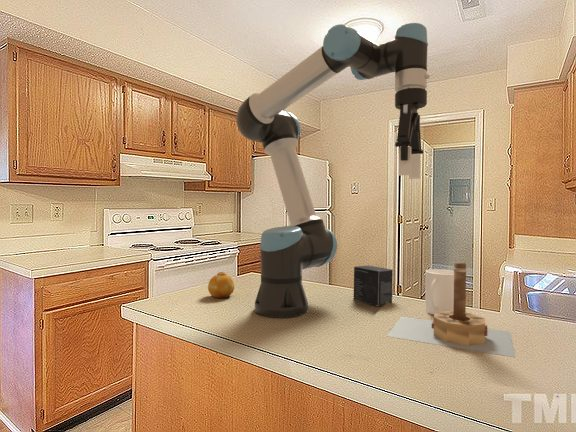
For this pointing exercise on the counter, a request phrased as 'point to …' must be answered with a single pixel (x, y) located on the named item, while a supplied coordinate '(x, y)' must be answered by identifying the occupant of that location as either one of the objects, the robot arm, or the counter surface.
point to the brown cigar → (459, 291)
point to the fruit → (221, 285)
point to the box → (373, 285)
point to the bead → (459, 328)
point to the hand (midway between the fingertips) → (410, 177)
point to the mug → (439, 290)
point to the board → (424, 332)
